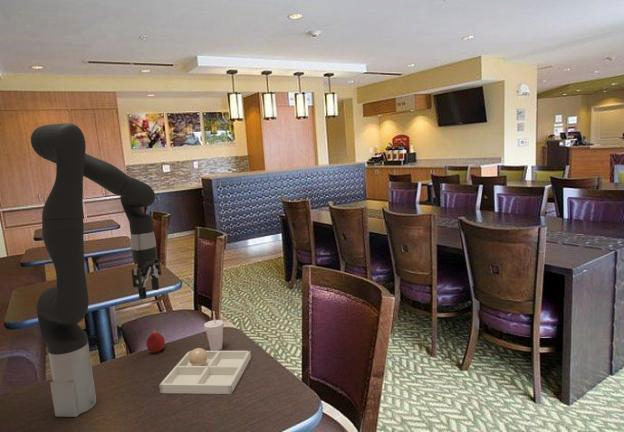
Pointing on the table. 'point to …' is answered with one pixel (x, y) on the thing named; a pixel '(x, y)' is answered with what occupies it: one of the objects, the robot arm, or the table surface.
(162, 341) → the onion
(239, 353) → the tray
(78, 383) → the robot arm
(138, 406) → the table surface
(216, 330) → the smoothie
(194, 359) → the beige ball
